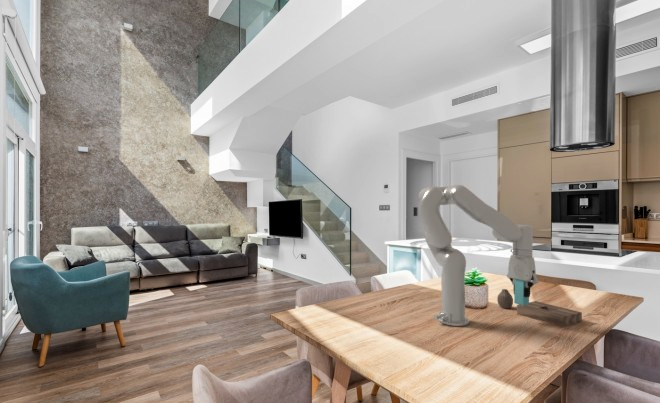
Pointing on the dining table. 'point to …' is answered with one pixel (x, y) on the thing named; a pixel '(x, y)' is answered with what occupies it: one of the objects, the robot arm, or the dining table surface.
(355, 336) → the dining table surface
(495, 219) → the robot arm
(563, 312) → the socket block
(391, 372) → the dining table surface
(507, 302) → the vase
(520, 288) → the peg
